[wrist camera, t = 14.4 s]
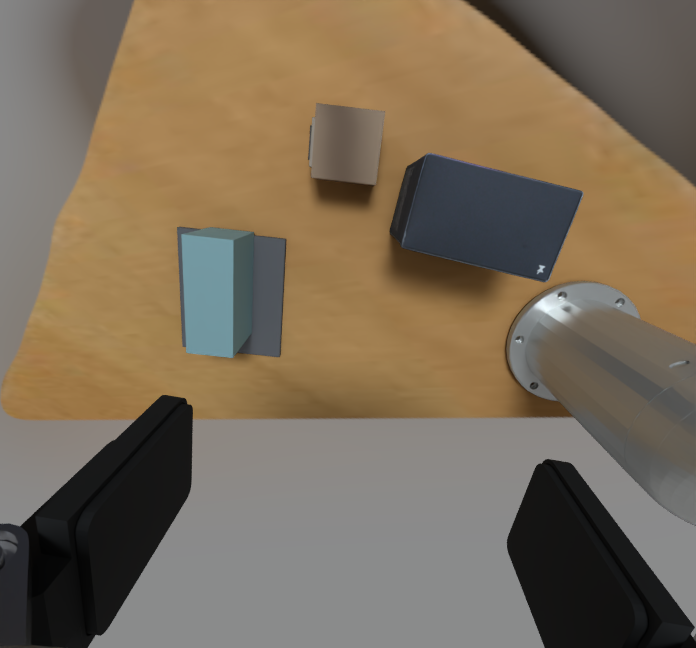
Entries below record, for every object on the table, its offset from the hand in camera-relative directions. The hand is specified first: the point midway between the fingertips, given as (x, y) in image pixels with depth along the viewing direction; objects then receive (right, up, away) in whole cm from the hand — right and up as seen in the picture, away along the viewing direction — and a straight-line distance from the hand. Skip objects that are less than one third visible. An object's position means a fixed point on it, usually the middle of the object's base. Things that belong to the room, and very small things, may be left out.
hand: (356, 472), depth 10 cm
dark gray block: (-12, +7, +27) cm, 30 cm away
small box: (+9, +14, +24) cm, 29 cm away
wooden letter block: (0, +19, +22) cm, 29 cm away
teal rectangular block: (-11, +8, +26) cm, 29 cm away
